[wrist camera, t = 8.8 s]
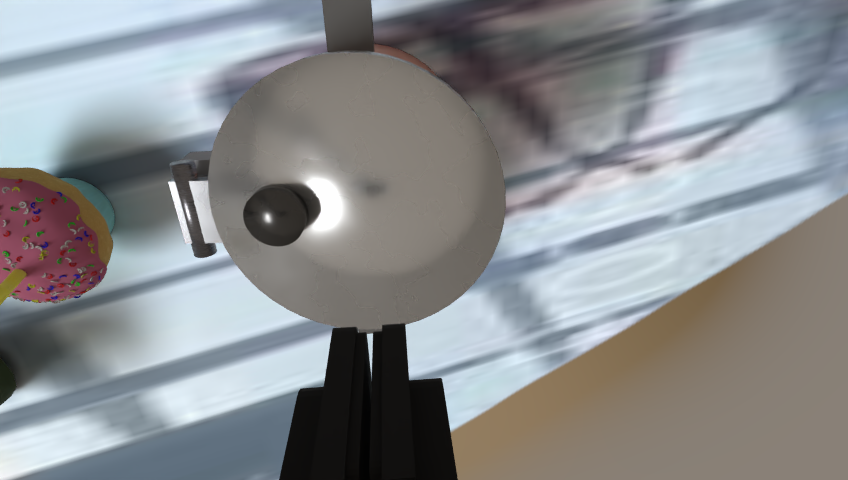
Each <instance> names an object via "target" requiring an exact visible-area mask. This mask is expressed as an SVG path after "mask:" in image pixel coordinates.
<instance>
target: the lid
mask: <svg viewBox="0 0 848 480" xmlns="http://www.w3.org/2000/svg"><path fill="white" fill-rule="evenodd" d="M169 166H170V169H171V173H172V177H173V179H171V180H170V181H168V183H169V187H170V190H171V194H172V197H173V201H174V204H175V208H176V212H177V215H178V219H179V222H180V226H181V229H182V233H183V236H184V240H185V243H186V244H191V245H192V249H193V253H194V256H195V257H198V258H204V257H209V256H211V255H213V254H215V253H216V252H217V249H216V245H215V243H223V244H224V246H225V248H226V250H227V251H228V253H229V255H230V256H231V258H232V259H233V261H234V263H235V264H236V265H237V266H238V268H239V269H240V270H241V271H242V273H243V274H244V275H245V276H246V277H247V278H248V279H249V280H250V281H251V282H252V283H253V284H254V285H255V286H256V287H257V288H258V289H259V290H260V291H262V292H263V293H264V294H265V295H267V296H268V297H269V298H271V299H272V300H273V301H275V302H277V303H278V304H280V305H281V306H283V307H285V308H286V309H288V310H290V311H292V312H294V313H296V314H298V315H300V316H302V317H305V318H308V319H311V320H313V321H316V322H319V323H323V324H327V325H331V326H335V327H341V328H342V327H357V329H365V330H371V329H382V325H386V324H401V323H405V325H406V324H409V323H412V322H416V321H419V320H421V319H424V318H426V317H428V316H431V315H433V314H435V313H437V312H438V311H440V310H442V309H444V308H445V307H447V306H449V305H450V304H451V303H453V302H454V301H455V300H457V299H458V298H459V297H461V296H462V295H463V294H464V293H465V292H466V291H467V290H468V289H469V288H470V287H471V286H472V285H473V284H474V283H475V282H476V280H477V279H478V278H479V276H480V275H481V274H482V273H483V271H484V270H485V268H486V266H487V265H488V263H489V261H490V260H491V258H492V256H493V254H494V252H495V249H496V247H497V244H498V242H499V239H500V235H501V232H502V228H503V224H504V216H505V208H506V201H505V184H504V178H503V171H502V168H501V164H500V161H499V158H498V155H497V151H496V149H495V147H494V145H493V143H492V141H491V139H490V137H489V134H488V132H487V130H486V128H485V127H484V125H483V123H482V122H481V120H480V119H479V117H478V116H477V114H476V113H475V111H474V110H473V109H472V108H471V107H470V105H469V104H468V103H467V102H466V101H465V100H464V99H463V97H462V96H461V95H460V94H458V93H457V92H456V91H455V90H454V89H453V88H452V87H450V86H449V85H448V84H447V83H446V82H444V81H443V80H441V79H440V78H438V77H437V76H435V75H434V74H432V73H431V72H429V71H428V70H426V69H424V68H421V67H419V66H417V65H415V64H413V63H411V62H409V61H406V60H403V59H400V58H397V57H394V56H391V55H386V54H381V53H375V52H370V51H353V50H344V51H334V52H325V53H321V54H317V55H313V56H309V57H305V58H303V59H300V60H298V61H295V62H293V63H291V64H288V65H286V66H283V67H281V68H279V69H278V70H276V71H274V72H273V73H271V74H269V75H268V76H266V77H264V78H263V79H261V80H260V81H259V82H258V83H256V84H255V85H254V86H253V87H251V88H250V89H249V90H248V91H247V92H246V93H245V94H244V95H243V96H242V97H241V98H240V99H239V101H238V102H237V103H236V104H235V105H234V106H233V108H232V109H231V111H230V112H229V114H228V115H227V117H226V119H225V120H224V122H223V123H222V126H221V128H220V130H219V132H218V135H217V137H216V139H215V142H214V146H213V150H212V153H211V157H210V164H209V173H208V175H198V173H197V169H196V165H195V161H194V160H179V161H175V162H172V163H170V164H169Z"/></svg>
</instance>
